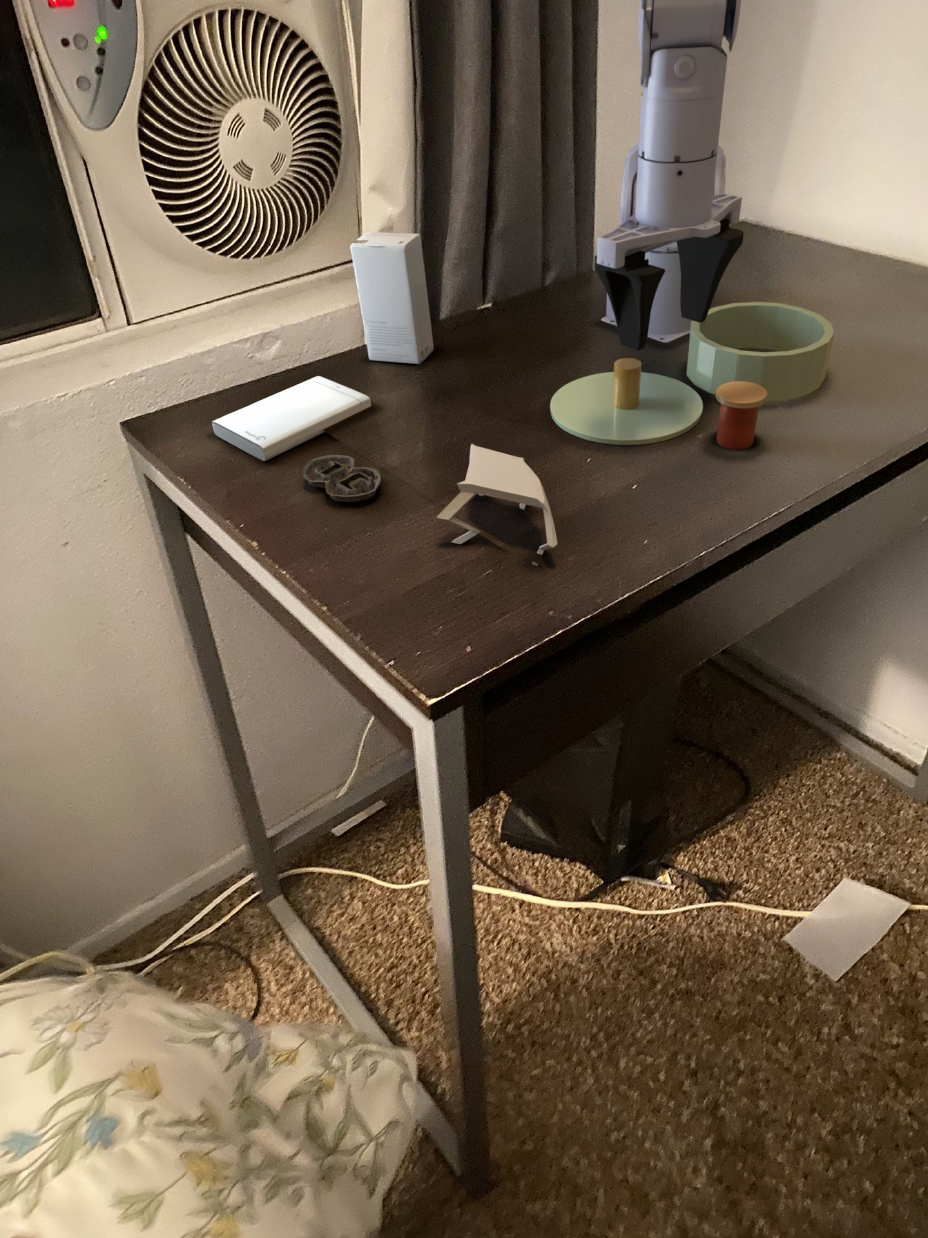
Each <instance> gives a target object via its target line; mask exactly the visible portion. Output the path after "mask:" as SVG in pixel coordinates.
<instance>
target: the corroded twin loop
mask: <svg viewBox="0 0 928 1238" xmlns="http://www.w3.org/2000/svg"><path fill="white" fill-rule="evenodd" d="M333 469H334V470H333ZM301 473H302V478H303V479H305V480H307V481H308V484H309V485H311V487H313V488H321V489H325V491H326V494H328V495H329V497H330V499H332V500H333V501H335V502H337V503H339V502H340V503H341V502H342V503H355V502H362V501H363V500H364V501H365V500H370V499H371V498H373V497H374V496H375V493H376V490H377V489H378V488H379V486H380V484H381V476H382V474H381V473H380V472H379V470H378V469H377V468H376V467H372V466H356V467H355V458H354V457H351V456H350V455H346V454H344V455H342V454H327V455H323V456H318V457H314V458H312V459H309V460H308V461H307V462H306V464H305V465H304V467H303V468H302V472H301ZM347 484H348V486H349V487H350V488H349V487H347V486H346V485H347Z"/></svg>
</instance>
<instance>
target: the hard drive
mask: <svg viewBox="0 0 928 1238" xmlns="http://www.w3.org/2000/svg"><path fill="white" fill-rule="evenodd" d="M370 407H372V402H371V398H370V396H368V395H366V394H364V393H362V392H360V391H357V390H355V389H353V388H350V387H347V386H345V385H344V384H340V383H338V382H336V381H333V380H331V379H328V378H326V377H323V376H320V375H317V376H314V377H312V378H310V379H307V380H305V381H302V382H301V383H299V384H296V385H294V386H291V387H289V388H286V389H285V390H282V391H280V392H277V393H275V394H273V395H270V396H268V397H266V398H263V399H261V400H258V401H256V402H254V403H252V404H250V405H248V406H245V407H243V408H240V409H238V410H236V411H233V412H230V413H228V414H226V415H224V416H222V417H220V418H217V419H215V420H212V421H211V425H212V426H211V427H212V429H213V433H214V435H215V436H217V437H218V438H220V439H222V440H223V441H226V442H227V443H229V444H231V445H233V446H235V447H237V448H238V449H240V450H242V451H244V452H246V453H247V454H249V455H251V456H253V457H254V458H257V459H259V460H260V461H263V462H266V461H268V460H270V459H273V458H275V457H277V456H279V455H281V454H283V453H285V452H287V451H289V450H291V449H293V448H295V447H298V446H299V445H301V444H303V443H306V442H308V441H310V440H312V439H314V438H316V437H317V436H320V435H322V434H324V433H325V432H326V430H325V429H327V428H330V427H331V426H334V425H335V424H337V423H339V422H342V421H343V420H346V419H347V418H350V417H352V416H353V415H356V414H358V413H360V412H362V411H364V410H366V409H369V408H370Z"/></svg>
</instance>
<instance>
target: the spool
mask: <svg viewBox="0 0 928 1238" xmlns="http://www.w3.org/2000/svg"><path fill="white" fill-rule="evenodd" d="M715 399H716V400H717V401H718V403H720V410H719V417H718V424H717V425H718V426H717V431H716V442H717V444H718V445H719V446H721V447H723V448H725V449H729V450H743V449H749V448H750V447H752V445H754V440H755V435H756V434H755V433H756V427H757V422H758V421H757V420H758V415H759V410H760V409H759V408H760V406H762V405H764V404H765V403H766V402H765V401H766V399H767V391H766V389H765V388H763V387H762V386H760V385H758V384H755V383H751V382H743V381H735V382H728V383H725V384H722V385H721V386H719V387H718V388H717V390H716V395H715Z"/></svg>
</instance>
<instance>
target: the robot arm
mask: <svg viewBox="0 0 928 1238" xmlns="http://www.w3.org/2000/svg"><path fill="white" fill-rule="evenodd" d="M741 5H742V0H639V6H638V7H639V8H638V31H637V32H638V39H637V40H638V46H639V47H638V48H639V57H640V58H639V59H640V73H639V74H640V77H639V78H640V79H639V85H640V86H641V87H642V93H641V95H640V96H641V98H640V114H639V116H640V117H639V118H640V119H639V133H638V134H639V135H638V143H637V144H636V145H634V146H633V147H632V148H631V149H630V150H629V151H628V154H627V156H626V157H625V160H624V166H623V167H624V169H623V175H622V182H621V191H620V210H619V211H620V213H619V225H618V226H616V227H614V228H613V229H611V230H610V231H609V232H607V233H605V234H602V235H600V236H598V237H597V239H596V254H595V256H594V262H593V263H594V264H593V265H594V266H593V268H594V271H595V273H596V275H597V276H598V277H599V280H600V281H601V284H602V285H603V287H604V290H605V292H606V305H605V307H606V308H605V316H604V317H602V318H601V319H600V321H602V322H604V323H607V324H609V325H613V326H615V327H616V328H617V329H616V330H617V333H618V338H619V343H620V345H621V346H623V347H626V348H628V349H632V350H634V351H637V352H638V351H641V350H644V349H645V347H646V345H647V341H648V338H650V339H653V340H655V341H658V342H662V343H670V342H672V341H674V340H677V339H680V338H681V337H684V336H686V335H688V334H690V325H691V322H692V321H696V322H699V323H701V322H704V321H705V319H706V317H707V314H708V312H709V309H711V306H712V304H713V300H714V298H715V295H716V292H717V289H718V287H719V285H720V283H721V280H722V277H723V276H724V274H725V272H726V269H727V268H728V266H729V264H730V262H731V261H732V259H733V257H734V256H735V254H737V251H738V250H740V248H741V246H742V245H743V244H744V243H743V241H744V234H745V232H744V231H743V230H742V229H739V228H738V229H737V228H733V227H730V225H734V224H737V223H739V222H740V216H741V210H742V200H743V197H742V196H739V195H735V194H730V193H726V164H727V156H726V155H725V152H724V149H723V147H721V146H720V144H719V142H720V131H721V122H722V112H723V103H724V96H725V95H724V93H725V85H726V82H725V81H726V76H727V75H726V74H727V65H728V54H727V53H726V51H725V50H724V48H723V47H722V45H723V39H724V38H725V41H726V42H728V51H729V53H731V52H732V51H733V48H734V44H735V41H736V37H737V34H738V29H739V22H740V15H741V14H740V13H741Z"/></svg>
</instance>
